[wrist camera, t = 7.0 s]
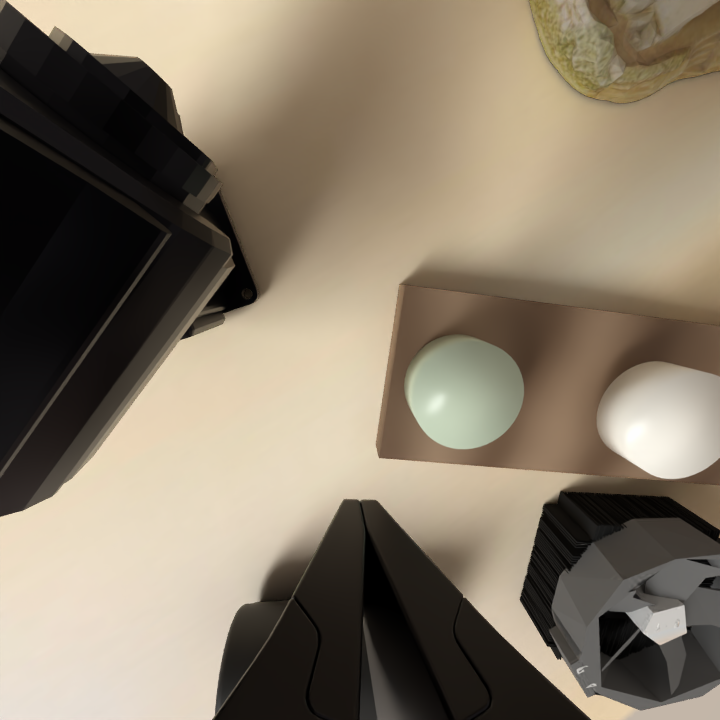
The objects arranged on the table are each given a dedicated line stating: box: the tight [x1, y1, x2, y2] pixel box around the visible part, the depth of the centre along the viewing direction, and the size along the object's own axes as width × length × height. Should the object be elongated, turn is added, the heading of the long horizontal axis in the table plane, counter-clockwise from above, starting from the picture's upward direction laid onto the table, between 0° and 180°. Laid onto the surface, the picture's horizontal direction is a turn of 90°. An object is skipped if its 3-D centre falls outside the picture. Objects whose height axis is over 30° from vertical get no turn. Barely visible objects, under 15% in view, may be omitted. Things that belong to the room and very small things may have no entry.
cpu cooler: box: [520, 491, 720, 710], centre depth 20 cm, size 10×6×10 cm
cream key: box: [597, 361, 720, 479], centre depth 16 cm, size 5×5×2 cm
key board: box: [376, 284, 720, 485], centre depth 19 cm, size 25×9×2 cm, turn 83°
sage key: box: [404, 334, 524, 449], centre depth 16 cm, size 5×5×2 cm
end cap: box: [215, 600, 377, 720], centre depth 19 cm, size 10×7×7 cm
